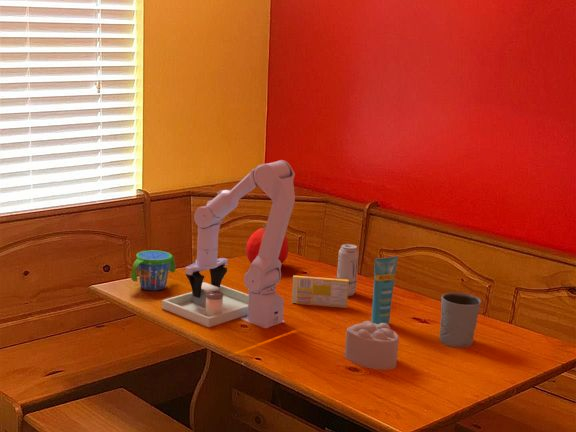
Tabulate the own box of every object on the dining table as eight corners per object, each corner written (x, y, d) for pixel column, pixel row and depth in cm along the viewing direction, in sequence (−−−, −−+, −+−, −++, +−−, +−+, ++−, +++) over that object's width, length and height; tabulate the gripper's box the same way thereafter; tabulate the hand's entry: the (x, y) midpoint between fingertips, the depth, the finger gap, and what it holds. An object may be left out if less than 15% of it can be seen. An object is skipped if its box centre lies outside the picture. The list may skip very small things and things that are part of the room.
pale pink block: (218, 304, 236) (218, 287, 235) (206, 307, 233) (206, 290, 232) (203, 298, 240) (203, 282, 239) (191, 302, 237) (192, 285, 235)
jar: (225, 317, 226) (226, 294, 224) (213, 322, 222) (214, 297, 221) (213, 313, 229) (214, 289, 227) (201, 317, 225) (202, 293, 224)
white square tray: (265, 310, 235) (265, 300, 234) (208, 329, 219) (208, 318, 218) (218, 293, 247) (219, 284, 246) (161, 310, 230) (162, 300, 230)
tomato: (271, 259, 284) (273, 220, 281) (297, 270, 274) (299, 229, 271) (234, 266, 274) (236, 225, 271) (260, 277, 264) (262, 235, 261)
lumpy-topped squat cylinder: (366, 346, 214) (369, 314, 212) (406, 363, 205) (409, 330, 203) (339, 356, 207) (341, 323, 205) (379, 374, 198) (382, 339, 196)
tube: (375, 328, 226) (381, 260, 222) (364, 322, 230) (369, 256, 226) (396, 324, 230) (402, 257, 226) (385, 318, 234) (390, 253, 230)
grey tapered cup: (429, 338, 221) (433, 296, 218) (453, 331, 228) (458, 289, 225) (459, 351, 214) (464, 307, 211) (483, 343, 220) (489, 300, 217)
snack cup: (164, 278, 258) (165, 246, 256) (185, 287, 251) (186, 255, 248) (121, 287, 247) (121, 254, 245) (141, 297, 240) (141, 263, 238)
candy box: (347, 306, 243) (349, 279, 241) (346, 308, 241) (349, 281, 239) (291, 301, 244) (293, 274, 242) (291, 303, 242) (292, 276, 240)
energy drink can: (349, 298, 250) (353, 250, 246) (332, 293, 253) (335, 246, 249) (358, 293, 255) (362, 246, 251) (341, 289, 258) (345, 242, 254)
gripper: (216, 240, 240) (214, 285, 243) (178, 249, 229) (177, 295, 233) (233, 245, 236) (231, 291, 239) (195, 254, 225) (194, 302, 228)
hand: (205, 294), depth 235 cm, fingers open, 6 cm apart
